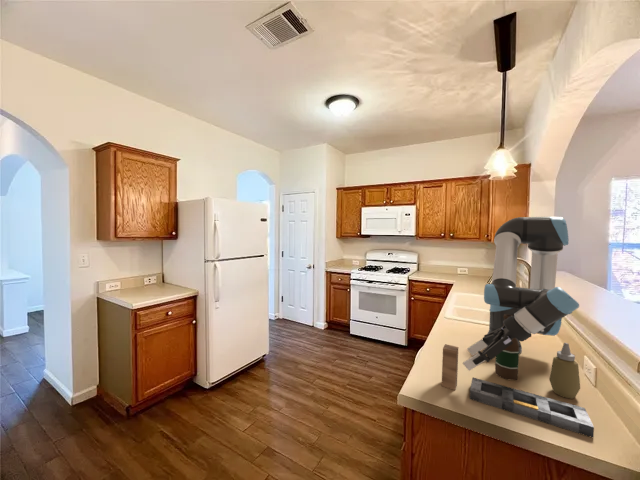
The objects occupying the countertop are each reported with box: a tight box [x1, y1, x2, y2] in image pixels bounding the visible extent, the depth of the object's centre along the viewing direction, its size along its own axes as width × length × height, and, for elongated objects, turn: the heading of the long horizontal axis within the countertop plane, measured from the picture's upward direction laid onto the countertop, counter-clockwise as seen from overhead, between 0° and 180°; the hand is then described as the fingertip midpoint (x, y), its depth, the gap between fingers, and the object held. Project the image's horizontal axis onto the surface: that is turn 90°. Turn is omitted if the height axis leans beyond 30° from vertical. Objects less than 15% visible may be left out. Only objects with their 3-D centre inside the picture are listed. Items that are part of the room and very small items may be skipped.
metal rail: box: [469, 377, 595, 438], centre depth 87 cm, size 30×10×3 cm, turn 56°
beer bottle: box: [494, 314, 520, 381], centre depth 107 cm, size 8×8×24 cm
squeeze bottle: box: [548, 342, 581, 400], centre depth 95 cm, size 8×8×18 cm
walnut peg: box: [441, 344, 459, 391], centre depth 99 cm, size 4×4×14 cm
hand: (467, 359), depth 95 cm, fingers open, 13 cm apart
